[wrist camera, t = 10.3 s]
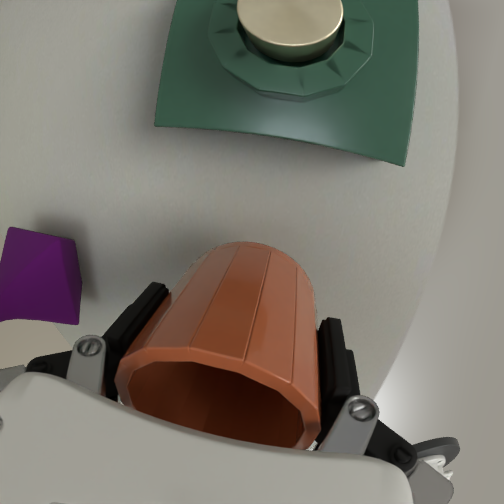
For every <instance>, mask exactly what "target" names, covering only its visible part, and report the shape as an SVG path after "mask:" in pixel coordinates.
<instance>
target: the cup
mask: <svg viewBox="0 0 504 504" xmlns="http://www.w3.org/2000/svg"><path fill="white" fill-rule="evenodd" d="M114 382H115V385H116V388H117V391H118V394H119V397H120V399H121V402H122V403H123V404H124V406H127V407H129V408H132V409H134V410H137V411H139V412H142V413H145V414H147V415H150V416H153V417H156V418H159V419H162V420H165V421H168V422H171V423H174V424H177V425H180V426H184V427H187V428H191V429H194V430H198V431H202V432H205V433H209V434H213V435H217V436H222V437H226V438H231V439H235V440H240V441H245V442H251V443H256V444H262V445H269V446H276V447H283V448H292V449H301V450H306V449H308V448H309V447H310V446H311V444H312V443H313V441H314V440H315V439H316V437H317V436H318V434H319V433H320V432H321V429H322V411H321V374H320V352H319V335H318V320H317V309H316V303H315V294H314V290H313V287H312V284H311V282H310V280H309V278H308V276H307V275H306V273H305V272H304V270H303V269H302V268H301V267H300V265H299V264H297V263H296V262H295V261H294V260H293V259H292V258H290V257H289V256H288V255H286V254H285V253H283V252H281V251H279V250H277V249H275V248H273V247H270V246H267V245H264V244H260V243H254V242H232V243H227V244H223V245H219V246H217V247H215V248H212V249H211V250H209V251H207V252H206V253H204V254H203V255H202V256H201V257H199V258H198V259H197V261H196V262H195V263H193V264H192V265H191V266H190V267H189V269H188V270H187V271H186V272H185V274H184V275H183V276H182V278H181V279H180V280H179V281H178V283H177V284H176V285H175V287H174V288H173V289H172V291H171V292H170V293H169V294H168V296H167V297H166V298H165V300H164V301H163V302H162V304H161V305H160V306H159V308H158V309H157V310H156V312H155V313H154V314H153V316H152V317H151V318H150V320H149V321H148V322H147V324H146V325H145V327H144V328H143V329H142V331H141V332H140V333H139V335H138V336H137V337H136V339H135V340H134V342H133V343H132V344H131V346H130V347H129V349H128V350H127V351H126V353H125V354H124V356H123V357H122V358H121V360H120V362H119V365H118V368H117V371H116V375H115V378H114Z"/></svg>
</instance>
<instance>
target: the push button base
mask: <svg viewBox="0 0 504 504" xmlns="http://www.w3.org/2000/svg"><path fill="white" fill-rule="evenodd" d="M237 1H238V0H177V2H176V6H175V10H174V14H173V18H172V22H171V26H170V31H169V35H168V40H167V45H166V50H165V55H164V60H163V66H162V72H161V78H160V84H159V91H158V98H157V105H156V113H155V122H154V126H155V127H176V128H193V129H207V130H219V131H229V132H238V133H246V134H254V135H262V136H268V137H275V138H281V139H287V140H293V141H299V142H304V143H309V144H314V145H319V146H324V147H329V148H333V149H338V150H342V151H346V152H350V153H354V154H358V155H362V156H366V157H370V158H374V159H377V160H381V161H384V162H388V163H391V164H395V165H398V166H402V167H404V166H405V162H406V157H407V151H408V146H409V140H410V134H411V127H412V120H413V113H414V105H415V96H416V85H417V72H418V52H419V15H418V0H341V2H342V5H343V19H342V22H341V25H340V27H339V30H338V33H337V35H336V38H335V40H334V43H333V44H332V46H331V47H330V48H329V49H328V50H327V51H326V52H325V53H324V54H322V55H321V56H319V57H317V58H315V59H312V60H308V61H304V62H285V61H280V60H276V59H273V58H271V57H269V56H267V55H265V54H263V53H262V52H260V51H259V50H258V49H257V48H256V47H255V46H254V45H253V44H252V42H251V41H250V39H249V37H248V35H247V33H246V31H245V29H244V28H243V26H242V24H241V22H240V20H239V18H238V14H237Z"/></svg>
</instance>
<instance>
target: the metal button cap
mask: <svg viewBox="0 0 504 504" xmlns="http://www.w3.org/2000/svg"><path fill="white" fill-rule="evenodd" d="M237 14H238V18H239V20H240V22H241V24H242V26H243V28H244V29H245V31H246V33H247V35H248V37H249V39H250V41H251V42H252V44H253V45H254V46H255V47H256V48H257V49H258V50H259V51H260V52H262V53H263V54H265V55H267V56H269V57H271V58H273V59H276V60H280V61H285V62H304V61H308V60H312V59H315V58H317V57H319V56H321V55H322V54H324V53H325V52H326V51H327V50H328V49H329V48H330V47H331V46H332V44H333V43H334V40H335V38H336V35H337V33H338V30H339V27H340V25H341V22H342V19H343V5H342V2H341V0H238V1H237Z"/></svg>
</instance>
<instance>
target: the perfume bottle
mask: <svg viewBox="0 0 504 504" xmlns="http://www.w3.org/2000/svg"><path fill="white" fill-rule="evenodd" d="M81 290H82V279H81V274H80V269H79V263H78V257H77V251H76V244H75V241H74V240H71V239H66V238H62V237H57V236H52V235H48V234H43V233H38V232H34V231H29V230H24V229H20V228H15V227H9V228H8V231H7V235H6V239H5V244H4V248H3V253H2V257H1V261H0V322H2V321H5V320H12V319H27V320H41V321H49V322H55V323H63V324H71V325H78V324H79V314H80V301H81Z"/></svg>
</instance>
